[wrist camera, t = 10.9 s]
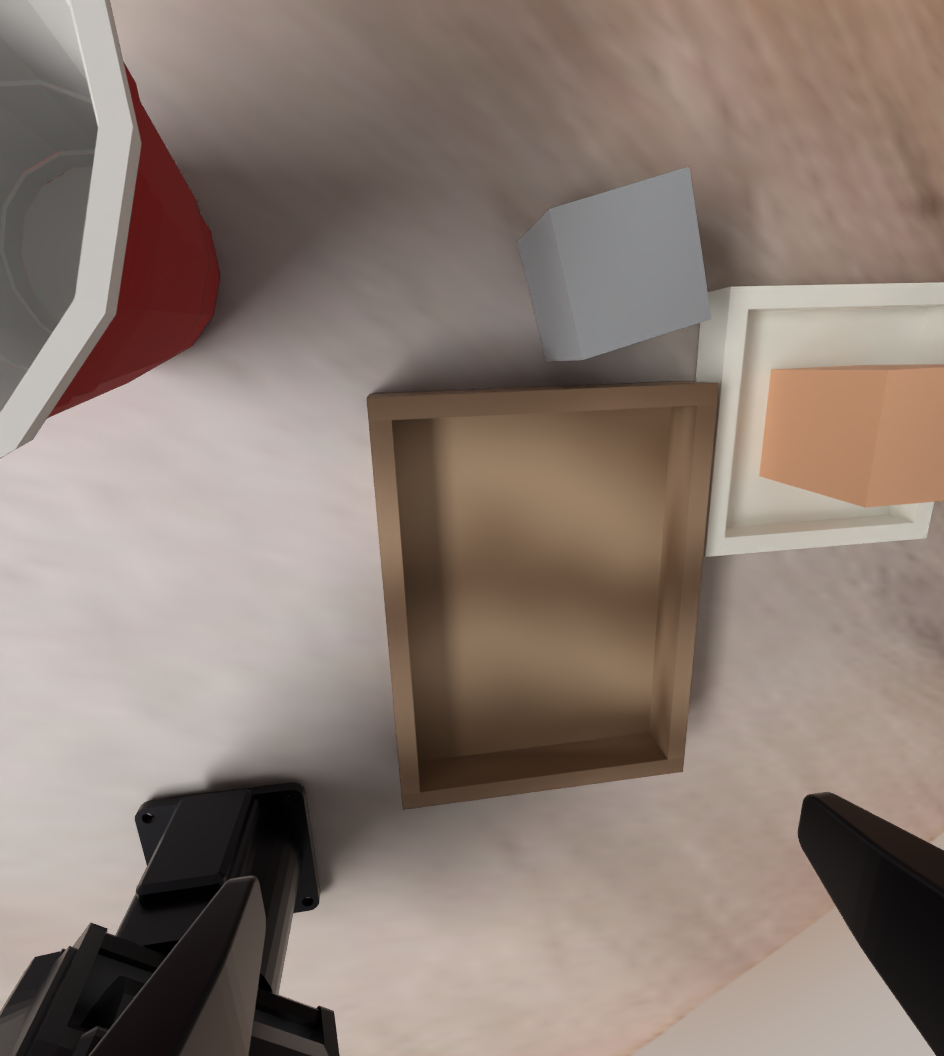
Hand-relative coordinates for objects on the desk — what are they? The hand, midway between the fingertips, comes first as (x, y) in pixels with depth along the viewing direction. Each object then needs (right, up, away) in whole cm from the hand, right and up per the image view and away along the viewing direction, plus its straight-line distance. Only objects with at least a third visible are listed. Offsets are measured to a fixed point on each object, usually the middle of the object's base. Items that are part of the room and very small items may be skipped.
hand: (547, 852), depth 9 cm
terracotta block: (+12, +9, +12) cm, 19 cm away
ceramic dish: (+12, +9, +13) cm, 20 cm away
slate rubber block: (+3, +14, +10) cm, 17 cm away
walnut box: (+1, +3, +13) cm, 13 cm away
